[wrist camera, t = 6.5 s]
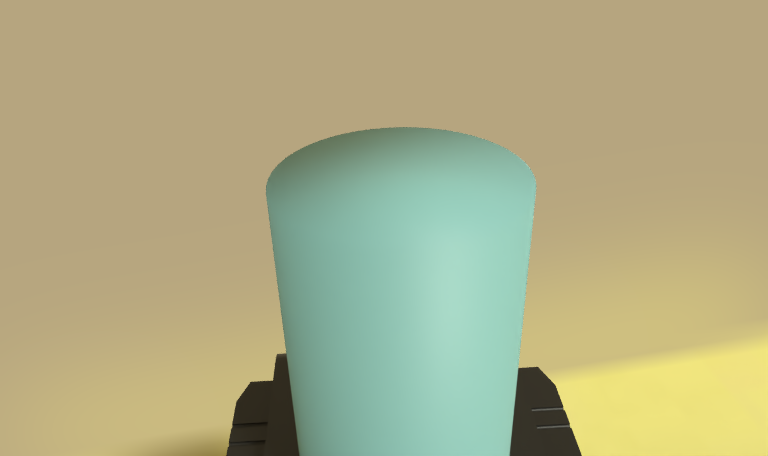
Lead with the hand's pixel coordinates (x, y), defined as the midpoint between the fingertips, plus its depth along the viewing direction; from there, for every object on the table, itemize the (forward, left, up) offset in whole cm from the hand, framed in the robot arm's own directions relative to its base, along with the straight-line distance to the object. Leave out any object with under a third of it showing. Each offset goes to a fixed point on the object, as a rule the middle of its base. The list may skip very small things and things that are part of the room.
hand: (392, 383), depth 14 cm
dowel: (+2, -2, -8) cm, 8 cm away
